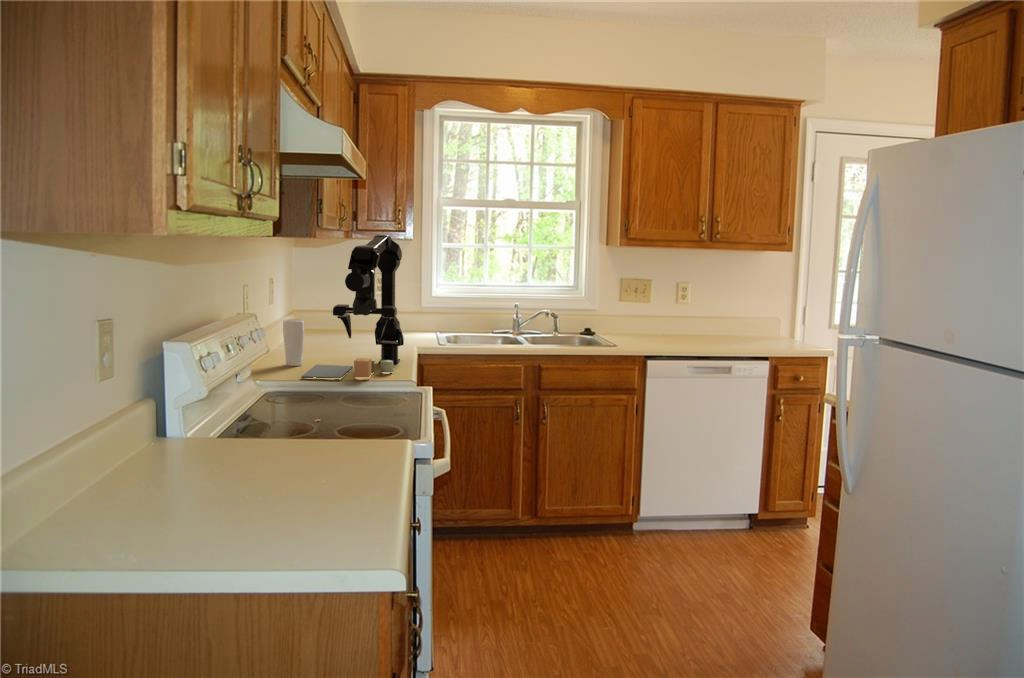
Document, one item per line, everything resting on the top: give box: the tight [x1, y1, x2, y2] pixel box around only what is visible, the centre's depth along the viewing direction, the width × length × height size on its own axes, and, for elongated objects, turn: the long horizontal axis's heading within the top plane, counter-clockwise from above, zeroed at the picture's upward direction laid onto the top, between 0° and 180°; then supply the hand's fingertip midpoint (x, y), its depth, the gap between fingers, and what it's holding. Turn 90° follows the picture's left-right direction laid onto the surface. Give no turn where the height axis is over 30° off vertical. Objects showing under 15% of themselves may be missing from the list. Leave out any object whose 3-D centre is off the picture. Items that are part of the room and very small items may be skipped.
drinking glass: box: [282, 318, 305, 367], centre depth 261 cm, size 7×7×15 cm
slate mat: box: [300, 364, 354, 378], centre depth 250 cm, size 18×12×1 cm, turn 0°
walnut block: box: [371, 360, 376, 373], centre depth 252 cm, size 4×4×4 cm
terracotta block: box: [353, 357, 372, 378], centre depth 245 cm, size 4×4×6 cm
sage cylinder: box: [380, 360, 394, 373], centre depth 254 cm, size 4×4×4 cm
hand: (365, 338), depth 243 cm, fingers open, 9 cm apart
